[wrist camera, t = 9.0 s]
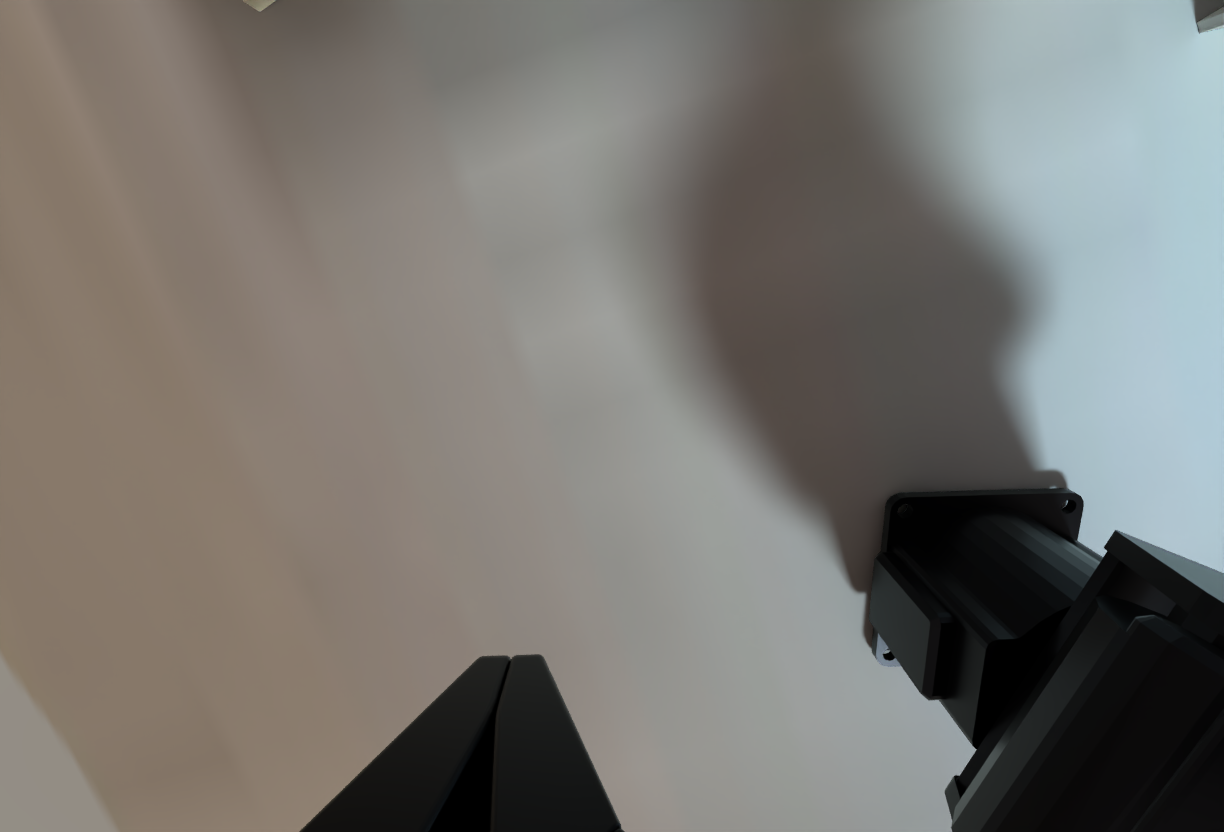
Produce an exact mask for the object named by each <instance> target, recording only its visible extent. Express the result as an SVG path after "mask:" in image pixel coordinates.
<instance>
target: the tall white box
mask: <svg viewBox="0 0 1224 832" xmlns="http://www.w3.org/2000/svg"><path fill="white" fill-rule="evenodd" d="M1197 24H1198V28H1199V33H1202V32H1207V31H1212V30H1216V29H1221V28H1224V6H1223V7H1222V8H1220V9H1218V10H1217V11H1215V12H1213V13H1212V14H1210V15H1208V16H1207V17H1205V18H1204V19H1202V20H1200V21H1199V22H1197Z"/></svg>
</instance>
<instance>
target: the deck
mask: <svg viewBox="0 0 1224 832" xmlns="http://www.w3.org/2000/svg"><path fill="white" fill-rule="evenodd" d="M242 1H244V2H245V3H247V4H248V5H250V6H251V7H253V8H254V9H256V10H257V11H259V12H261V11H262V10H263V9H265V8H266V7H268V6H269V5H270V4H272V3H273V2H274V1H276V0H242Z"/></svg>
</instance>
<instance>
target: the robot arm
mask: <svg viewBox="0 0 1224 832" xmlns="http://www.w3.org/2000/svg"><path fill="white" fill-rule="evenodd" d="M1066 500H1068V503H1067V505H1066V506H1065V507H1064V508H1062V509H1061V506H1062V504H1063V503H1064V502H1065V501H1066ZM904 504H907V509H906V510H905V511H904V512H903V513H898V509H899V507H900V506H902V505H904ZM1083 507H1084V504H1083V499H1082V497H1081V496H1079V495H1078V494H1076V493H1075V492H1073V491H1071V490H1069V489H1064V488H1054V489H1018V490H982V491H946V492H909V493H898V494H895V495H893V496H891V497H890V498H889V500H888V501H887V503H886V506H885V515H884V525H883V535H882V546H881V552H880V553H879V554H878V555H877V556H876V558H875V560H874V570H873V581H872V591H871V602H870V613H869V621H870V622H871V624H872V625H873V627H874V628H873V638H872V653H873V655H874V656H875V658H876V659H877V661H878V662H879V663H880V664H881V665H883V666H888V667H892V666H902V668H903V669H904V671H905V672H906V673H907V675H908V676H909V678H910V679H911V681H912V682H913V683H914V685H915V686H916V688H917V689H918V690H919V692H920V693H921V694H922V695H923V696H924V697H925V698H927V699H928V700H939V701H940V702H941V703H942V705H943V706H944V707H945V709H946V710H947V712H948V713H949V714H950V716H951V717H952V718H953V720H954V721H955V722H956V724H957V725H958V727H959V728H960V729H961V731H962V732H963V733H964V735H965V736H966V737H967V739H968V740H969V741H970V743H971V744H972V746H973V747H975V748H976V749H977V750H976V752H975V753H974V755H973V756H972V758H971V759H970V761H969V762H968V764H967V765H966V767H965V769H964V770H963V772H962V773H961V775H960V776H957V775H955V776H954V777H953V779H952V780H951V782H950V783H949V785H948V786H947V788H946V789H945V795H946V799H947V803H948V806H949V810H950V814H951V818H952V827H951V828H952V832H1224V573H1222V572H1219V571H1217V570H1214V569H1212V568H1209V567H1207V566H1204V565H1202V564H1199V563H1197V562H1194V561H1192V560H1189V559H1187V558H1184V557H1182V556H1179V555H1177V554H1175V553H1172V552H1170V551H1167V550H1165V549H1162V548H1160V547H1157V546H1155V545H1152V544H1150V543H1147V542H1145V541H1142V540H1140V539H1137V538H1135V537H1132V536H1130V535H1127V534H1125V533H1122V532H1120V531H1117V530H1115V531H1114V533H1113V534H1112V536H1111V537H1110V539H1109V540H1108V542H1107V544H1106V545H1105V547H1104V548H1105V549H1106V550H1107V553H1106V554H1105V556H1104V557H1102V556H1100V555H1099V554H1097V553H1095V552H1094V551H1092V550H1091V549H1089V548H1087V547H1086V546H1084V545H1083V544H1081V543H1080V542H1078V541H1077V539H1078V534H1079V528H1080V523H1081V517H1082V512H1083ZM886 649H890V652H889V653H886V654H883V653H884V651H885V650H886ZM300 832H624V831H623V830H622V829H621V824H620V822H619V820H618V818H617V816H616V813H615V811H614V809H613V807H612V805H611V802H610V800H609V798H608V796H607V794H606V792H605V789H604V787H603V785H602V783H601V781H600V779H599V776H598V774H597V772H596V770H595V768H594V765H593V763H592V761H591V759H590V757H589V755H588V752H587V750H586V748H585V746H584V744H583V742H582V739H581V737H580V735H579V733H578V731H577V729H576V726H575V724H574V722H573V720H572V718H571V715H570V713H569V711H568V709H567V707H566V705H565V702H564V700H563V698H562V696H561V694H560V692H559V689H558V687H557V685H556V683H555V681H554V679H553V676H552V674H551V672H550V670H549V668H548V665H547V663H546V661H545V659H544V657H543V656H542V655H539V654H535V655H516V656H514V657H512V659H510V657H509V656H482V657H480V658H478V659H477V660H476V661H475V662H474V663H473V664H472V665H471V666H470V667H469V668H468V669H466V670H465V671H464V672H463V673H462V674H461V675H460V676H459V677H458V678H457V679H456V680H455V681H454V682H453V683H452V684H451V685H450V686H449V687H448V688H447V689H446V690H445V691H444V692H443V693H442V694H441V695H440V696H439V697H438V698H437V699H436V700H435V701H433V702H432V703H431V704H430V705H429V706H428V707H427V708H426V709H425V710H424V711H423V712H422V713H421V714H420V715H419V716H418V717H417V718H416V719H415V720H414V721H413V722H412V723H411V724H410V725H409V726H408V727H407V728H406V729H405V730H404V731H403V732H402V733H401V734H399V735H398V736H397V737H396V738H395V739H394V740H393V741H392V742H391V743H390V744H389V745H388V746H387V747H386V748H385V749H384V750H383V751H382V752H381V753H380V754H379V755H378V756H377V757H376V758H375V759H374V760H373V761H372V762H371V763H370V764H369V765H368V766H367V767H365V768H364V769H363V770H362V771H361V772H360V773H359V774H358V775H357V776H356V777H355V778H354V779H353V780H352V781H351V782H350V783H349V784H348V785H347V786H346V787H345V788H344V789H343V790H342V791H341V792H340V793H339V794H338V795H337V796H336V797H335V798H334V799H332V800H331V801H330V802H329V803H328V804H327V805H326V806H325V807H324V808H323V809H322V810H321V811H320V812H319V813H318V814H317V815H316V816H315V817H314V818H313V819H312V820H311V821H310V822H309V823H308V824H307V825H306V826H305V827H304V828H303V829H302V830H301V831H300Z"/></svg>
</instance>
